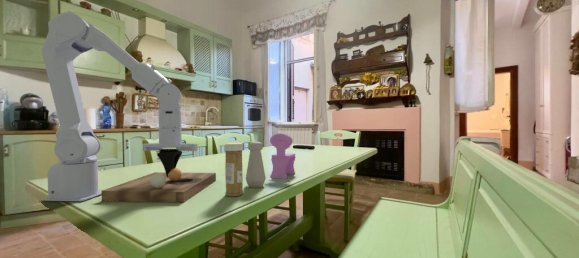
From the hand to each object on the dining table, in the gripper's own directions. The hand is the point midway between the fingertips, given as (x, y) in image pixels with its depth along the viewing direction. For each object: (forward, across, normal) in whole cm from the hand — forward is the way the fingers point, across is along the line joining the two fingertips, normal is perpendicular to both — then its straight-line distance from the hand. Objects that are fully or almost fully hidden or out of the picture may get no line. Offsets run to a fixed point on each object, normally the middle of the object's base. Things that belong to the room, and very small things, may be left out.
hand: (170, 176), depth 71 cm
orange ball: (-1, -1, 0) cm, 1 cm away
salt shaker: (+4, -23, -5) cm, 24 cm away
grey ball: (-1, -1, +8) cm, 8 cm away
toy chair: (+4, -30, -20) cm, 36 cm away
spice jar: (+4, -19, +4) cm, 20 cm away
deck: (+3, +1, 0) cm, 4 cm away
